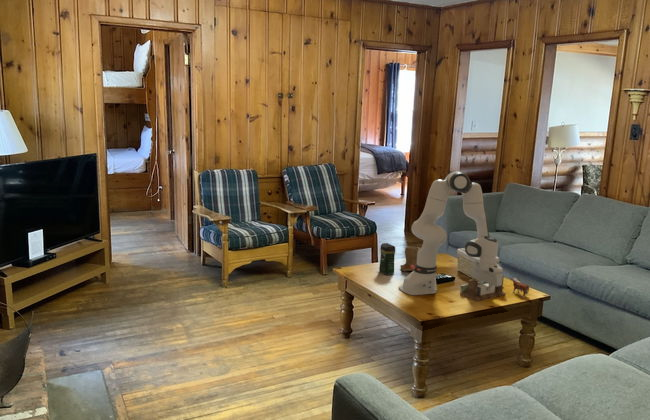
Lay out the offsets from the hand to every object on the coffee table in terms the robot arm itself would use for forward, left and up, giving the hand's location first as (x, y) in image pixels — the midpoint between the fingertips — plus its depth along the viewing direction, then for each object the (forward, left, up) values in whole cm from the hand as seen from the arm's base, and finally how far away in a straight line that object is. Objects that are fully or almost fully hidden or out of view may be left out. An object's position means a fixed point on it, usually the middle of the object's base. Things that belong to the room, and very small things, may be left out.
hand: (485, 288), depth 306 cm
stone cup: (-10, +54, -4) cm, 55 cm away
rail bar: (0, 0, -2) cm, 2 cm away
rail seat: (0, +1, -4) cm, 4 cm away
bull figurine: (+20, -7, -4) cm, 21 cm away
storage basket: (+21, +28, -4) cm, 36 cm away
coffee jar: (-28, +55, -4) cm, 62 cm away
